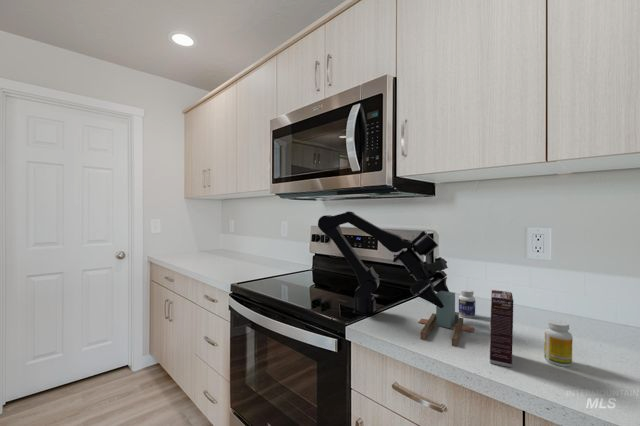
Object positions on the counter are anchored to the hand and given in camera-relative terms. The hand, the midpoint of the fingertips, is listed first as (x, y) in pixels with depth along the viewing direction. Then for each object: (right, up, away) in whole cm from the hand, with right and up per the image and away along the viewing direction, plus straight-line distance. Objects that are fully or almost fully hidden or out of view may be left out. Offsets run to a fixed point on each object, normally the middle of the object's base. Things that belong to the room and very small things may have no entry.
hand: (447, 304), depth 99 cm
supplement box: (+4, -7, -22) cm, 23 cm away
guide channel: (-3, -7, -3) cm, 8 cm away
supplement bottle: (+17, -7, -23) cm, 30 cm away
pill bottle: (+11, -7, +10) cm, 16 cm away
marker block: (0, -7, 0) cm, 7 cm away
